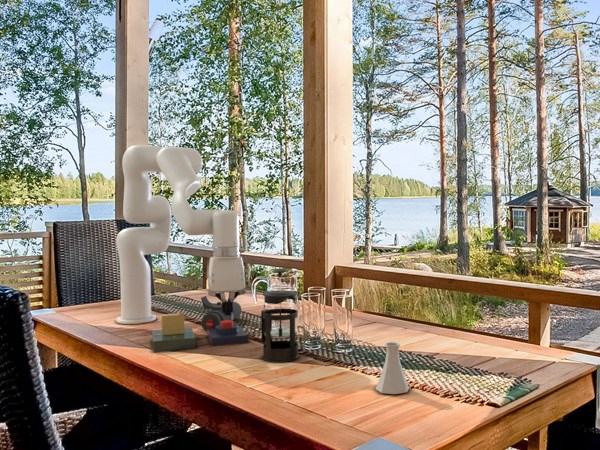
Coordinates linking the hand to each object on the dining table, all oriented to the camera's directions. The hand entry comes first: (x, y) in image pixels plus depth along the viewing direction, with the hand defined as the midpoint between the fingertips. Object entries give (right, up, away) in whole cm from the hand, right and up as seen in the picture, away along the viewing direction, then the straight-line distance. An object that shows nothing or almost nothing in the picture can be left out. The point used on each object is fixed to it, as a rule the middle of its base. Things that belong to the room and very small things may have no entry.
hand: (227, 314), depth 166 cm
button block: (0, -7, 0) cm, 7 cm away
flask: (+46, -10, -44) cm, 64 cm away
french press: (+18, -8, -18) cm, 27 cm away
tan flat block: (-14, -5, -5) cm, 16 cm away
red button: (0, -4, 0) cm, 4 cm away
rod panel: (-14, -8, -5) cm, 17 cm away
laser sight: (-6, -7, +18) cm, 21 cm away
